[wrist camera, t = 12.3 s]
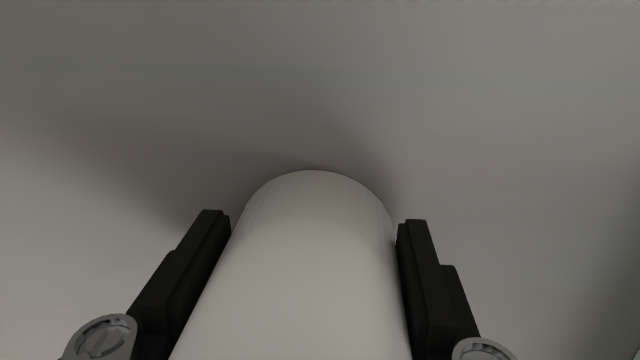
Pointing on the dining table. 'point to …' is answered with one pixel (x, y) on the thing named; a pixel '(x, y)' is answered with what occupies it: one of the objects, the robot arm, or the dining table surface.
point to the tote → (637, 355)
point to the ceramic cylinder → (303, 279)
